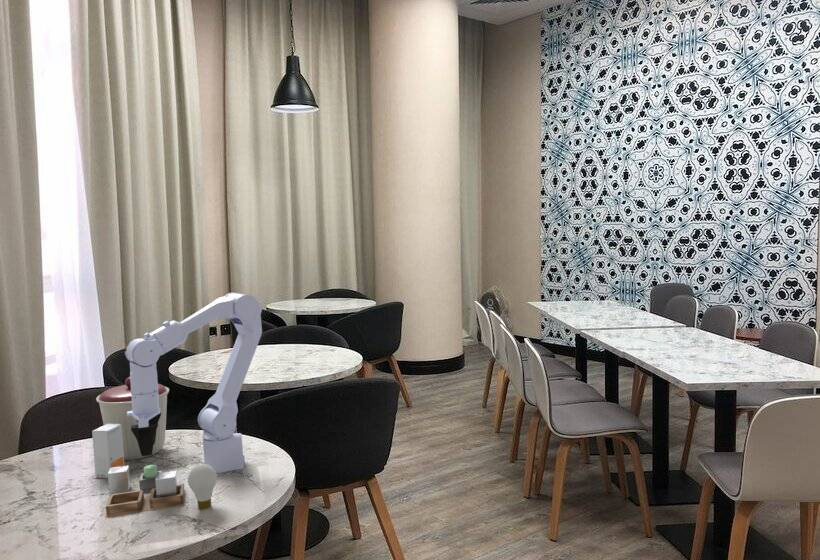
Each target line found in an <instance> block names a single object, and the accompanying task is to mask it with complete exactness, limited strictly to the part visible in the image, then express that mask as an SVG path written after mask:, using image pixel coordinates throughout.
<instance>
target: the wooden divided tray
mask: <svg viewBox="0 0 820 560" xmlns="http://www.w3.org/2000/svg"><path fill="white" fill-rule="evenodd" d="M177 490H178V495H174V496H167V497H160V498H157V494H156V488H152V490H150V495H145V494H144V491H143V490H140V489H139V490H133V491H129V492H124V493H118V494H111V495H110V494H109V496H108V499H107V502H106V506H105V516H104V517H105V518H109V517H115V516H119V515H128V514H134V513H139V512H140V513H141V512H146V511H153V510H160V509H168V508H174V507H179V506H185V503H186V502H185V501H186V489H185V484H184V483H180V484H177Z"/></svg>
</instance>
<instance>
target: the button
mask: <svg viewBox="0 0 820 560" xmlns="http://www.w3.org/2000/svg"><path fill="white" fill-rule="evenodd" d="M157 467H158V466H157V464H149V465H145V466H144V467H143V473H144V478H145V479H147V478H154V477H156V475H157V471H158V468H157Z"/></svg>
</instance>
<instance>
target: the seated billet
mask: <svg viewBox="0 0 820 560" xmlns="http://www.w3.org/2000/svg"><path fill="white" fill-rule="evenodd" d="M177 477H178V476H177V471H176V470H173V471H165V472H162V473H157V475H156V479H155V482H156V494H157V498H160V497H167V496H174V495H178V490H177V485H178V480H177Z"/></svg>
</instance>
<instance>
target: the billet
mask: <svg viewBox="0 0 820 560" xmlns="http://www.w3.org/2000/svg"><path fill="white" fill-rule="evenodd" d="M130 473H131V471H130V465H128V464H127V465H125V466H120V467H113V468H110V470H109V472H108V478H107V480H108V481H107V482H108V492H109V496H110V495H111V494H118V493H124V492H130V490H131V487H132V486H131V476H130V475H131V474H130Z"/></svg>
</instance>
